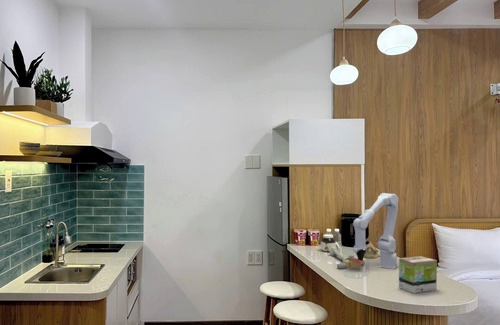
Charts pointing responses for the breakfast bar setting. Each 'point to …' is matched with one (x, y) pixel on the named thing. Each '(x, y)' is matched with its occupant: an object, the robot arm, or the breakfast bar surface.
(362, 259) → the robot arm
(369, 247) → the ceramic model
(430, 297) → the breakfast bar surface
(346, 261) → the valve pipe
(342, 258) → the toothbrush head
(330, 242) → the spread jar
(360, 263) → the lever
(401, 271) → the tea box
